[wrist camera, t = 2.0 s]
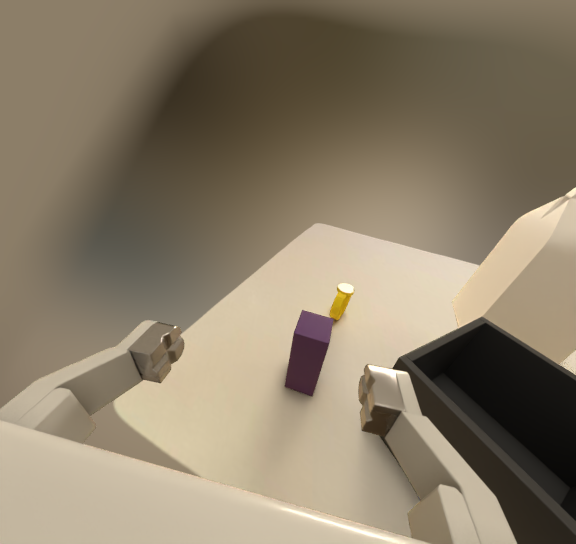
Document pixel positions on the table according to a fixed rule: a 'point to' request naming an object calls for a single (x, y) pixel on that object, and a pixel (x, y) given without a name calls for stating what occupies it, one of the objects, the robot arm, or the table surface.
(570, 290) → the milk
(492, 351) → the waste bin
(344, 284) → the watch
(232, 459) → the table surface
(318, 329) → the purple rectangular block
